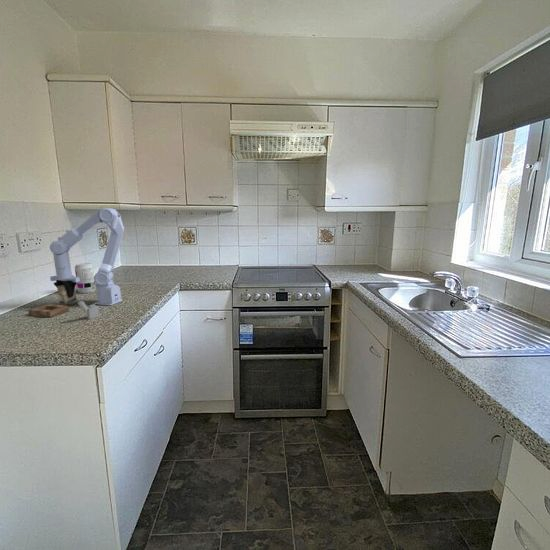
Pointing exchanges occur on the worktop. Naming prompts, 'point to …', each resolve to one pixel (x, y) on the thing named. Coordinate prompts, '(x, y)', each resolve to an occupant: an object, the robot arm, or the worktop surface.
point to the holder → (48, 310)
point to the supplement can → (85, 278)
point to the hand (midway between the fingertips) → (67, 296)
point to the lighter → (90, 310)
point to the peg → (65, 295)
